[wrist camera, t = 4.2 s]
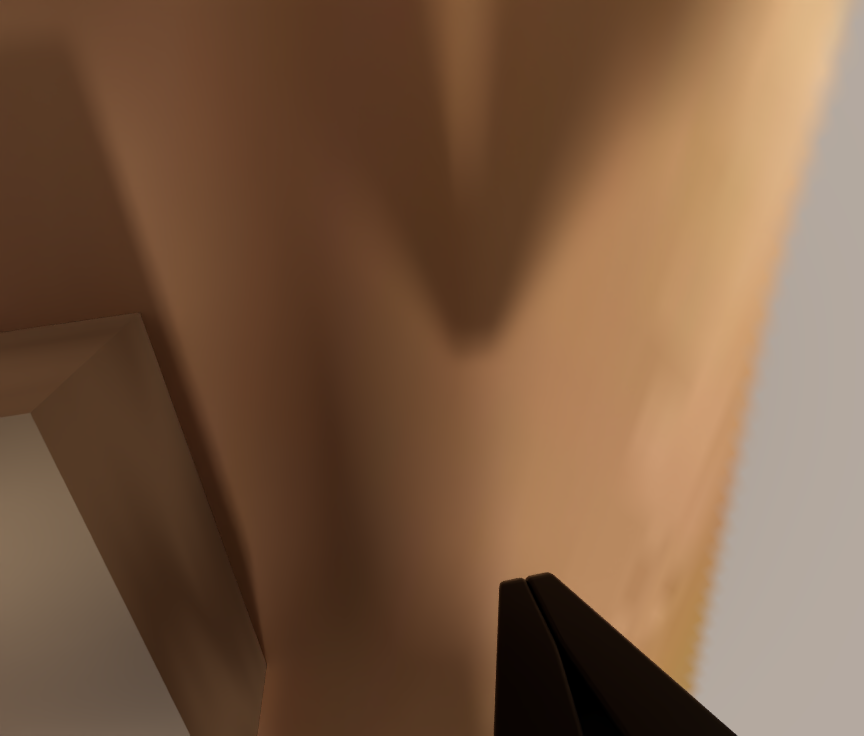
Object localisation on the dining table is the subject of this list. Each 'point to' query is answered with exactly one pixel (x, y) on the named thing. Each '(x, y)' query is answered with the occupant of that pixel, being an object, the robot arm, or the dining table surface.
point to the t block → (111, 550)
